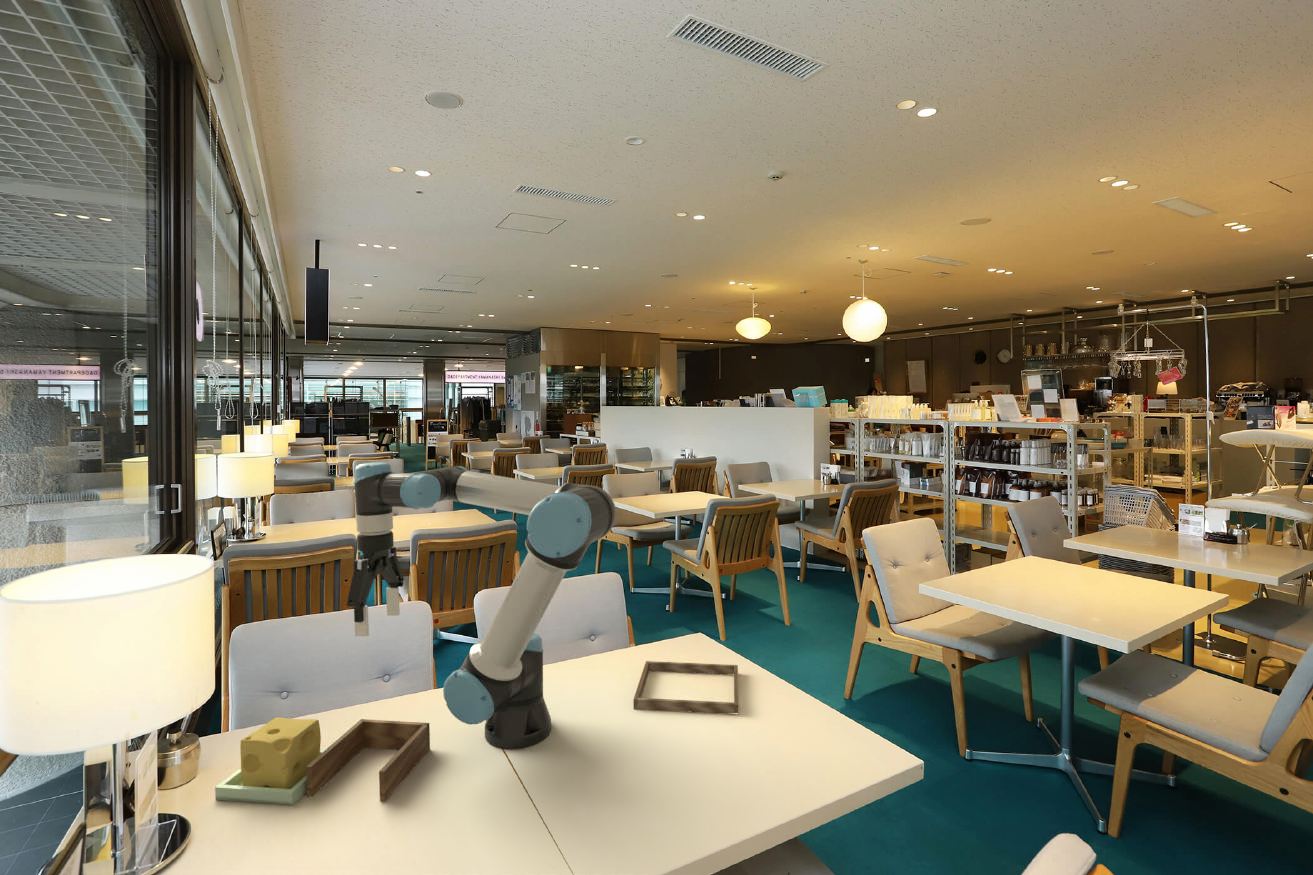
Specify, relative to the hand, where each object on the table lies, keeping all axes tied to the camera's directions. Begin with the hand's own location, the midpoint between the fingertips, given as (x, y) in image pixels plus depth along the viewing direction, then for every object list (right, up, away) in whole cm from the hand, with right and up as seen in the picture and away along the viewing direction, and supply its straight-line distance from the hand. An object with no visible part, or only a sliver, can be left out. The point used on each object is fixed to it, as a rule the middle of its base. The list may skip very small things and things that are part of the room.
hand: (378, 625), depth 148 cm
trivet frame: (+71, -25, +26) cm, 80 cm away
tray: (-14, -27, -14) cm, 34 cm away
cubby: (+4, -27, -11) cm, 30 cm away
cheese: (-14, -27, -14) cm, 33 cm away
